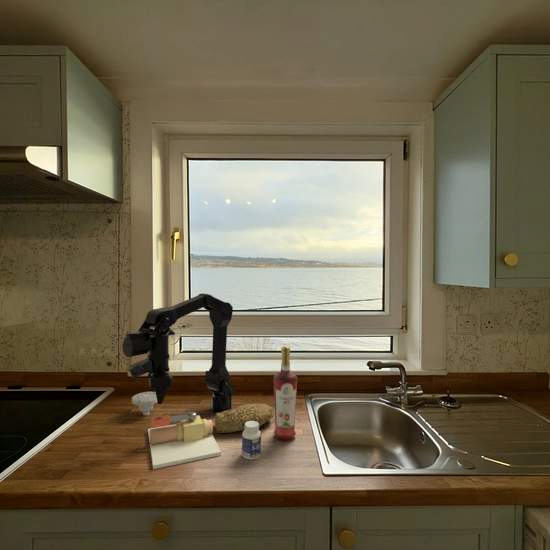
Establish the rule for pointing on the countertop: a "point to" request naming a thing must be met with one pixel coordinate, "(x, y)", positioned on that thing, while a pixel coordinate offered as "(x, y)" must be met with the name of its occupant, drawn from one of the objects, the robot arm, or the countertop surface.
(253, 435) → the pill bottle
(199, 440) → the valve board
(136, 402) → the showerhead
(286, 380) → the liquor
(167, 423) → the valve lever
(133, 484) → the countertop surface
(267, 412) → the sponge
